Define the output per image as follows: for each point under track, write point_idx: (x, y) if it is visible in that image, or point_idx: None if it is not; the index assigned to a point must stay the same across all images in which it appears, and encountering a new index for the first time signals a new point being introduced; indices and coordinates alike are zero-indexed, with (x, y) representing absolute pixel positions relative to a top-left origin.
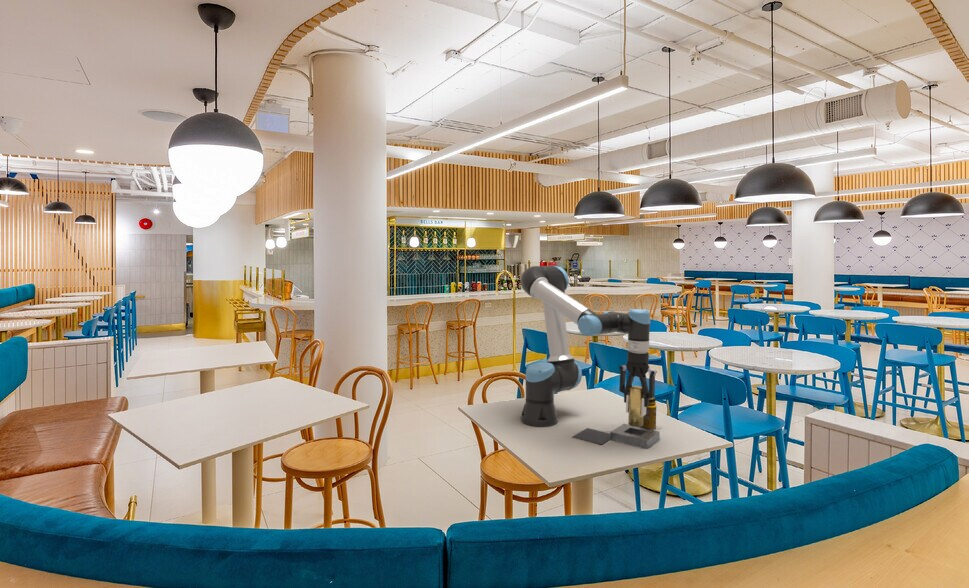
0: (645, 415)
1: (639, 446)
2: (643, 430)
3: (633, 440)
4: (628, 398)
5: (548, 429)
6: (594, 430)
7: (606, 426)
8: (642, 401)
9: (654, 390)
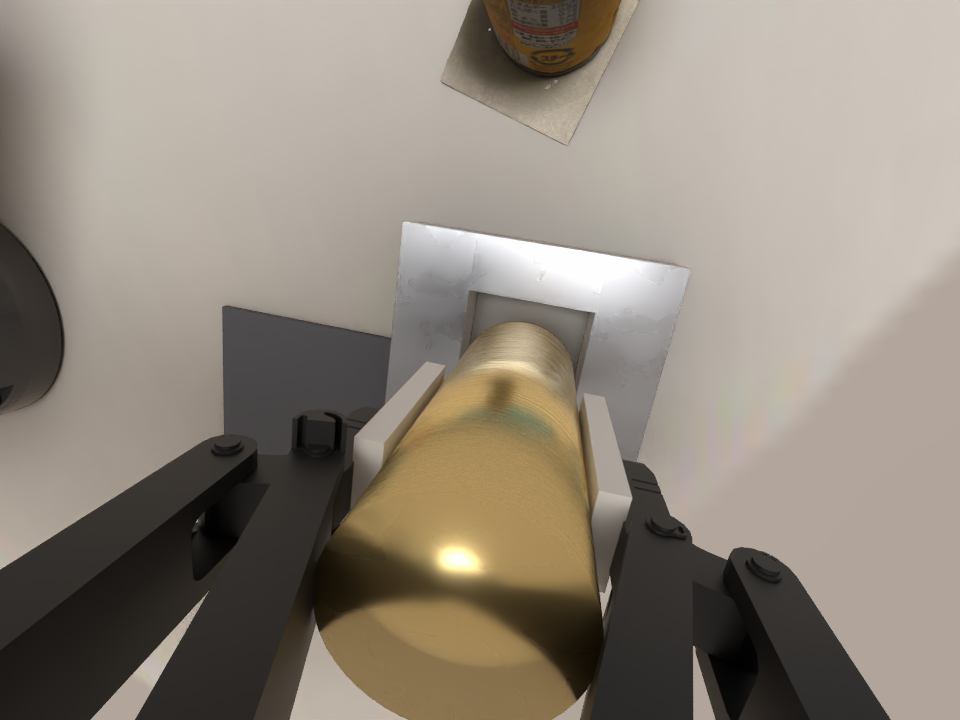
0: (538, 33)
1: None
2: (569, 305)
3: None
4: None
5: (85, 415)
6: (272, 329)
7: (295, 189)
8: None
9: (843, 668)
